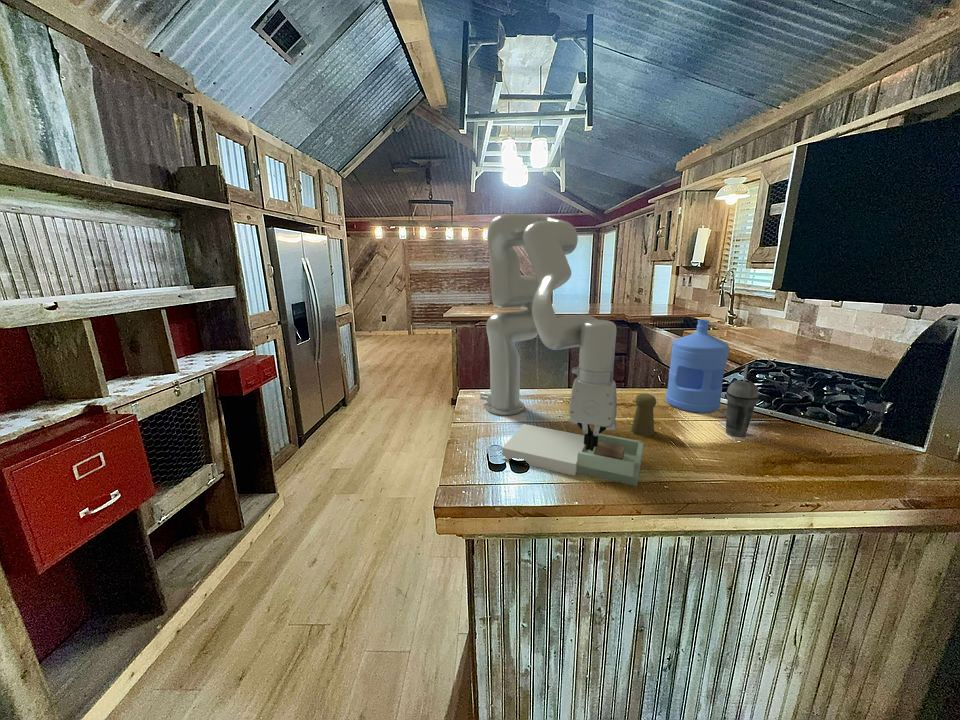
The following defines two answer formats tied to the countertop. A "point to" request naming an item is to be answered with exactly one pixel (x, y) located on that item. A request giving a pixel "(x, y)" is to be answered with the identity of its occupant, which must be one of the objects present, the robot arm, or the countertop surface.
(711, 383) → the water jug
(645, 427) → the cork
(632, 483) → the box
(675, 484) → the countertop surface
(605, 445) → the walnut tile
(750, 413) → the beverage cup
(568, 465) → the white flat slab
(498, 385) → the robot arm
